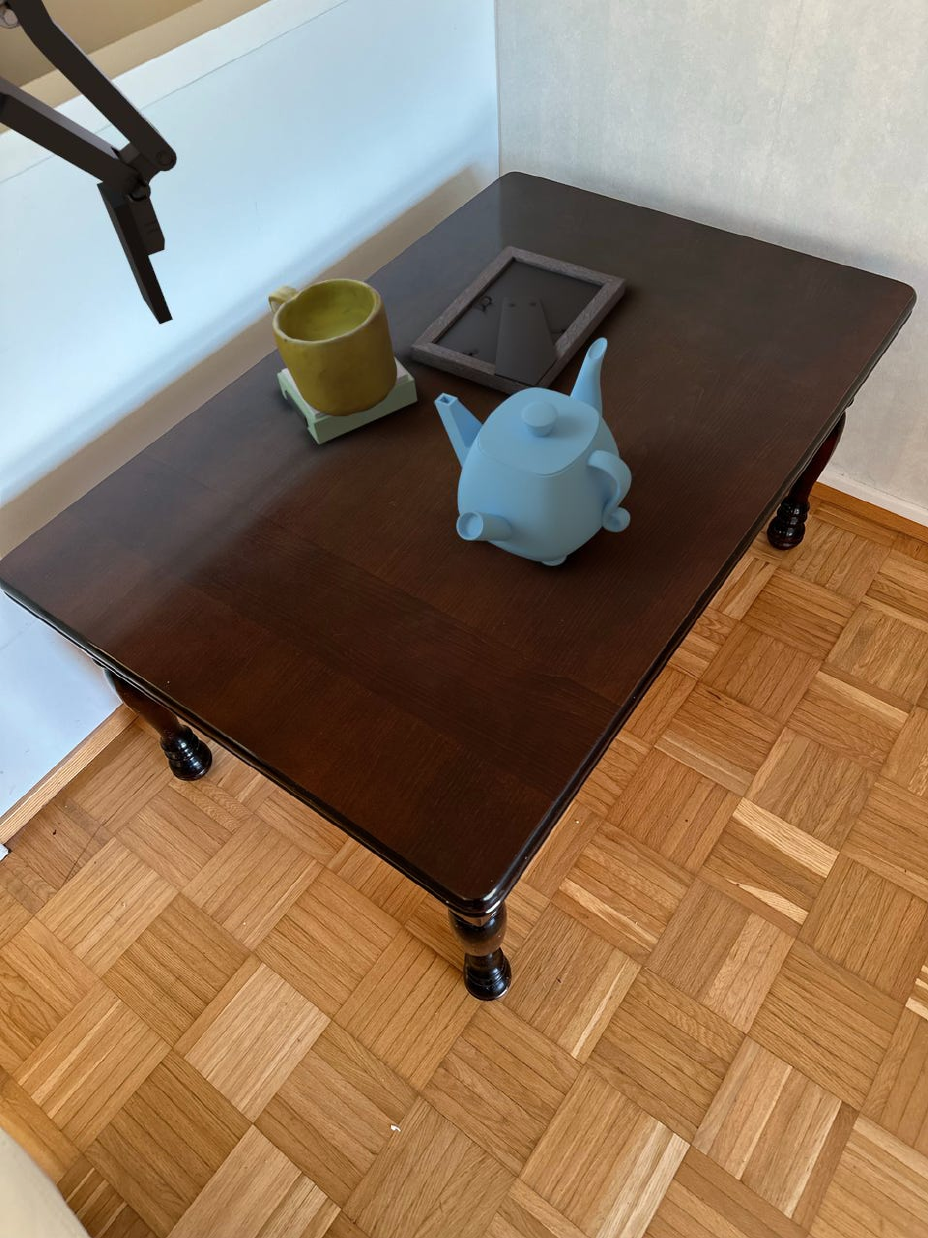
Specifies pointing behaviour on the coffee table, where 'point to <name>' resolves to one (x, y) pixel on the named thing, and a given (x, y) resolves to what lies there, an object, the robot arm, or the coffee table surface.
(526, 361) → the picture frame
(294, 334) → the mug
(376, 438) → the coffee table surface
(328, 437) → the scale
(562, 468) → the teapot
